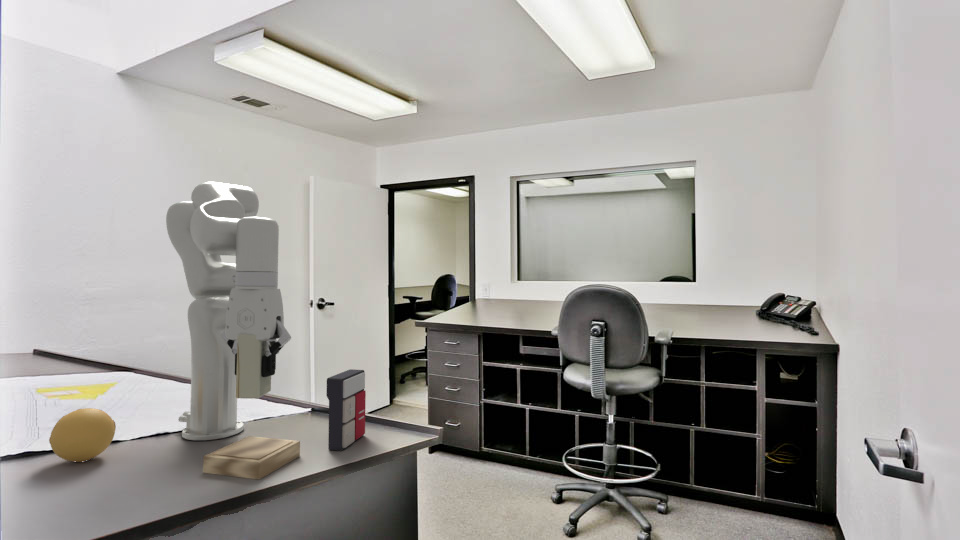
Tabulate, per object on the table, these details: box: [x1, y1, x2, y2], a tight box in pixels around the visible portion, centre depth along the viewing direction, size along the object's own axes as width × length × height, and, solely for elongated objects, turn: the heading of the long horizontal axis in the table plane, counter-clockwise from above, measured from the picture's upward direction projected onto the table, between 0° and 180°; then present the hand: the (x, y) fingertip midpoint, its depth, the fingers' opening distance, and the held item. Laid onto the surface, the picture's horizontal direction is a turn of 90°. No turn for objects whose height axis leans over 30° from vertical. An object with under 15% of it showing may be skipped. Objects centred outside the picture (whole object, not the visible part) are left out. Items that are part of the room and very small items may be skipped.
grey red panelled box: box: [326, 368, 366, 452], centre depth 107 cm, size 11×4×15 cm, turn 168°
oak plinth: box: [202, 435, 301, 481], centre depth 94 cm, size 12×12×3 cm
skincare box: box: [236, 334, 272, 400], centre depth 94 cm, size 6×4×12 cm
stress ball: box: [48, 407, 117, 463], centre depth 95 cm, size 10×10×10 cm
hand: (255, 374), depth 94 cm, fingers closed on skincare box, 5 cm apart
